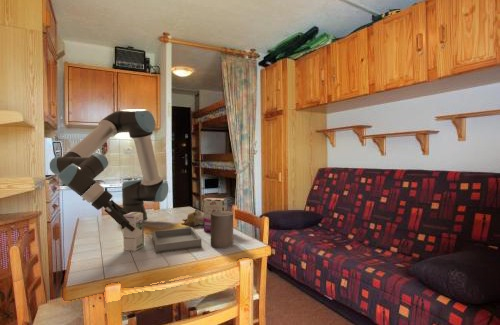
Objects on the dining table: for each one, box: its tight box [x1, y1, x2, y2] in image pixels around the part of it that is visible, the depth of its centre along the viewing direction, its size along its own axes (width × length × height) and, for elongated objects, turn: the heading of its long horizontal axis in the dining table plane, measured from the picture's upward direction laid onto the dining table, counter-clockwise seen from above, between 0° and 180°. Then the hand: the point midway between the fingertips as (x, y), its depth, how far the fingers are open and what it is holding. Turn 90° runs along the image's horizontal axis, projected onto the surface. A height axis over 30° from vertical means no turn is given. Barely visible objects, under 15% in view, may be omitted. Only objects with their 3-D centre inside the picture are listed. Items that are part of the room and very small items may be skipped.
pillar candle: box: [210, 210, 234, 249], centre depth 120 cm, size 10×10×15 cm
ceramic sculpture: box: [180, 209, 204, 227], centre depth 152 cm, size 11×9×15 cm
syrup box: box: [122, 212, 145, 252], centre depth 115 cm, size 6×6×14 cm
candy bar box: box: [203, 197, 228, 233], centre depth 140 cm, size 11×5×16 cm, turn 71°
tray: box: [152, 226, 202, 254], centre depth 122 cm, size 20×18×4 cm
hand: (139, 230), depth 116 cm, fingers open, 12 cm apart
